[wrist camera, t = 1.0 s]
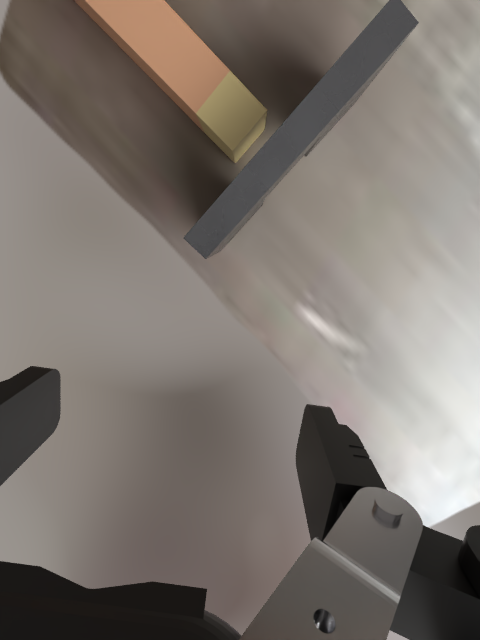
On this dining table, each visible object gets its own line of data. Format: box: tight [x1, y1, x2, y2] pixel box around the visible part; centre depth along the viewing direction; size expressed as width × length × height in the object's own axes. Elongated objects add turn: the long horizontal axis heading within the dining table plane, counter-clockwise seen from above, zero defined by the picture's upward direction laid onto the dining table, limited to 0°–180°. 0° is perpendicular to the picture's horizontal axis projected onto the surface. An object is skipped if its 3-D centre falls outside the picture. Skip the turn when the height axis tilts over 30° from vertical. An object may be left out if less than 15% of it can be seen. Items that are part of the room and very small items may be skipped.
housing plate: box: [184, 0, 419, 259], centre depth 26 cm, size 18×2×12 cm, turn 137°
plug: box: [74, 0, 267, 163], centre depth 28 cm, size 4×20×5 cm, turn 47°
